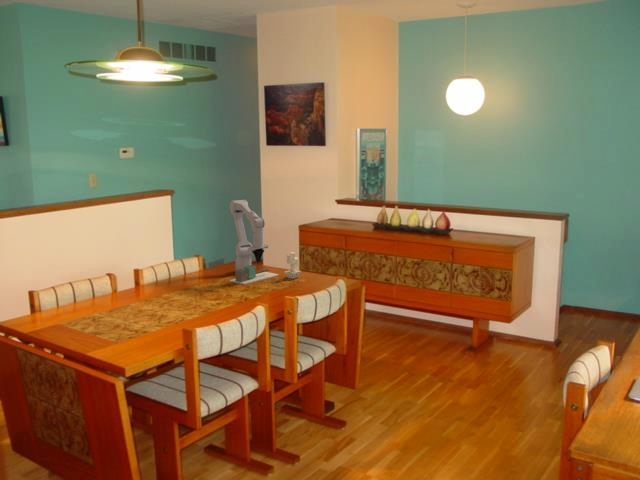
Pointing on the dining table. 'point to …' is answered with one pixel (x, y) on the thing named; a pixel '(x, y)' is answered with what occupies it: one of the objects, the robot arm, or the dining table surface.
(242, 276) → the rod stand
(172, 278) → the dining table surface
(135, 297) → the dining table surface
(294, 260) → the figurine
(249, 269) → the sleeve
